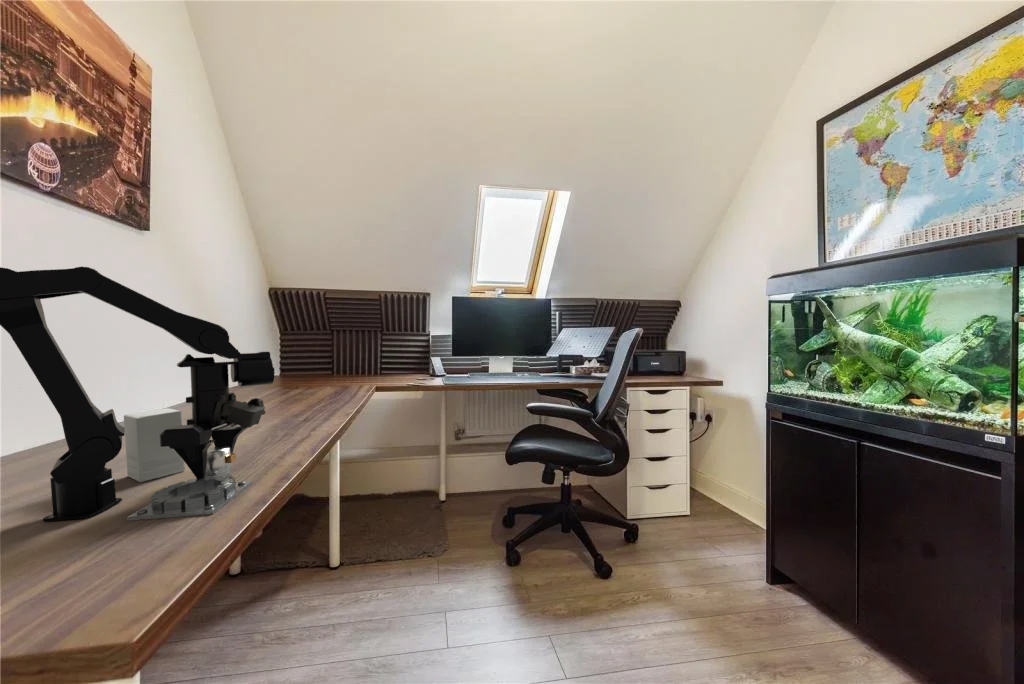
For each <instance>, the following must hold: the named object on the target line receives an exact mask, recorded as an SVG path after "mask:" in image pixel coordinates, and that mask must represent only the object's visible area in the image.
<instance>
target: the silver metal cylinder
mask: <svg viewBox="0 0 1024 684" xmlns="http://www.w3.org/2000/svg"><path fill="white" fill-rule="evenodd" d="M235 461H237V453H236V452H233V453H230V447H229V446H219V447H215V446H214V447H209V448H208V450H207V461H206V472H205V478H206V477H208V476H221V475H222V476H230V477H233V476H232V464H233V462H235Z"/></svg>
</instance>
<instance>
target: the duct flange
mask: <svg viewBox="0 0 1024 684" xmlns="http://www.w3.org/2000/svg"><path fill="white" fill-rule="evenodd" d="M252 485H253V480H251V481H250V480H247V481H245V480H241V481H236V478H235V477H234V476H232V477H230V476H222V475H221V476H208V477H206V478H205V477H204V478H199V479H197V478H196V477H195V478H192V479H187V481H185V480H182V481H180V482H177V483H174V484H171V485H168V486H167V487H164V488H162V489H161V488H160V490H158V491H156V492H154V493H153V494H152V495H151V500H150V503H149V504H147V505H145V506H144V507H142V508H141V509H139V510H137V511H135V512H134V513H131V514H130V515H128V516H127V518H126V519H127V521H140V520H152V519H155V520H156V519H166V518H168V519H169V518H181V517H182V518H183V517H193V516H204V515H205V516H207V515H214V514H215V513H217V512H218V511H219V510H220V509H222V508H223V507H225V506H226V505H227V504H228V503H230V502H231V501H232V500H233V499H235V498H237V496H239V495H240V494H241V493H243V492H244V491H245V490H247V489H248V488H249V487H251V486H252Z"/></svg>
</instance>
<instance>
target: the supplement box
mask: <svg viewBox="0 0 1024 684" xmlns="http://www.w3.org/2000/svg"><path fill="white" fill-rule="evenodd" d="M182 415H183V414H182V411H181V410H178V409H173V408H169V407H167V408H159V409H153V410H146V411H139V412H135V413H128V414H124V415H123V427H124V428H125V431H124V439H125V440H124V444H125V457H126V459H125V460H126V472H127V477H128V478H131V479H133V480H135V481H136V482H139V483H143V482H147V481H151V480H155V479H159V478H163V477H167V476H170V475H171V476H172V475H174V474H179V473H183V472H184V471H185V470H186V463H185V462H184V460H183V459H182V458H181V457H180V456H179V455H178V453H177V452H176V451H175V450H174V449H170V448H169V446H166V447H161V446H160V434H161V433H162V432H163V431H164V430H166V429H169V428H172V427H176V426H179V425H183V420H182V418H183V417H182Z"/></svg>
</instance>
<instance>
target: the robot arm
mask: <svg viewBox="0 0 1024 684" xmlns="http://www.w3.org/2000/svg"><path fill="white" fill-rule="evenodd" d="M80 294H85V295H88V296H89V297H90V296H91V297H92V298H94V299H97V300H99V301H101V302H103V303H106V304H108V305H110V306H112V307H114V308H116V309H119V310H121V311H123V312H125V313H128V314H129V315H132V316H133V317H136V318H139V319H140V320H143V321H145V322H147V323H149V324H151V325H154V326H156V327H158V328H160V329H162V330H164V331H165V332H166V333H169V334H170V335H171V336H173V337H174V338H175V339H177V340H178V341H180V342H182V343H183V344H185V345H187V347H189V348H191V349H192V350H193V351H195V352H197V353H201V354H204V355H205V354H206V355H217V356H219V357H221V358H224V359H229V360H232V359H233V361H218V362H217V361H215V358H214V357H213V356H207V357H206V356H203V357H194V355H191V354H190V353H187V354H185V356H184V358H183V359H182V360H181V361H180V362H177V363H176V366H177V367H178V368H190V385H191V386H190V387H191V388H190V389H191V391H190V392H191V393H190V395H191V396H187V397H185V404H191V415H192V416H191V417H192V418H191V417H190V418H189V419H186V424H182V425H179V426H176V427H172V428H169V429H166V430H164V431H163V432H162V433H161V434H160V446H161V447H166V446H169V448H170V449H174V450H175V451H176V452H177V453H178V455H179V456H180V457H181V458H182V459H183V460H184V462H185V465H186V466H187V467H188V469H189V470H190V471H191V473H192V474H193V475H194V477H195V479H196V478H197V479H199V478H204V477H205V472H206V461H207V450H208V448H211V446H212V445H214V447H219V446H229V447H230V453H234V449H235V445H236V442H237V440H238V437H239V436H240V435H241V434H242V433H243V432H244V431H245V430H247V429H248V428H252V427H253V426H255V425H259V423H260V420H261V417H262V416H265V414H266V410H265V409H266V407H265V405H264V400H263V399H260V398H257V397H254V398H251V399H250V400H249V401H248V402H247V401H240V400H237V395H236V394H235V392H230V384H229V381H230V379H231V382H232V383H237V386H238V387H239V388H243V387H253V386H262V385H264V386H265V385H272V384H273V383H274V380H275V367H274V365H273V360H272V358H271V352H270V351H258V352H248V353H247V352H246V353H241V352H240V351H239V349H237V348H236V347H235V346H234V345H233V343H231V342H230V335H229V333H228V330H227V329H226V328H225V327H223V326H221V325H219V324H217V323H214V322H210V321H208V320H204V319H202V318H198V317H195V316H191V315H188V314H185V313H182V312H179V311H176V310H174V309H172V308H170V307H168V306H166V305H164V304H162V303H161V302H158V301H157V300H154V299H152V298H150V297H147V296H146V295H144V294H142V293H140V292H138V291H136V290H134V289H132V288H130V287H127V286H125V285H123V284H122V283H120V282H117V281H115V280H113V279H111V278H109V277H107V276H105V275H103V274H101V272H99V271H98V270H97V269H95V268H92V267H88V266H78V267H74V268H62V269H61V268H60V269H59V268H57V269H38V270H36V269H35V270H23V271H16V270H13V269H10V268H8V267H0V327H2V328H3V330H4V331H5V332H6V333H8V334H9V336H10V337H11V339H12V341H13V342H14V343H15V345H16V347H17V348H18V350H19V352H20V353H21V355H22V357H23V359H24V360H25V361H26V363H27V365H28V367H29V368H30V369H31V372H32V373H33V375H34V376H35V377H36V379H37V381H38V383H39V384H40V386H41V388H42V389H43V391H44V393H45V394H46V396H47V397H48V399H49V401H50V402H51V404H52V405H53V407H54V408H55V410H56V412H57V414H58V415H59V417H60V420H61V424H62V429H63V434H64V438H65V441H66V445H67V448H68V450H67V451H66V452H65V453H63V454H62V455H61V456H60V457H58V459H57V460H56V461H55V464H54V466H53V467H52V469H51V471H50V476H51V478H50V492H51V494H50V495H51V502H52V503H51V505H52V506H51V508H52V513H51V514H48V515H45V516H44V517H42V522H52V521H64V520H65V521H66V520H75V519H76V520H77V519H87V518H91V517H93V516H95V515H97V514H98V513H101V512H102V511H104V510H107V509H108V508H111V507H112V506H115V505H116V504H119V503H120V502H122V500H123V499H122V497H117V495H116V480H115V478H114V477H113V471H112V469H113V468H107V467H106V465H107V463H109V462H111V461H112V460H114V459H116V457H117V456H118V455H119V454H120V452H121V450H122V446H123V437H125V428H124V425H123V426H122V425H121V424H120V423H119V422H118V420H117V418H116V414H115V411H114V409H113V408H110V409H109V410H107V411H104V412H102V411H101V410H100V409H99V408H98V407H97V406H96V405H95V404H94V403H93V402H92V400H91V397H90V396H89V395H88V394H87V391H86V390H85V388H84V387H83V384H81V382H80V380H79V378H78V376H77V374H76V372H74V369H73V368H72V367H71V365H70V363H69V361H68V359H67V358H66V356H65V354H64V353H63V351H62V349H61V348H60V346H59V344H58V342H57V340H56V339H55V337H54V336H53V334H52V332H51V331H50V329H49V326H48V324H47V321H46V316H45V312H44V307H43V304H42V301H41V300H44V299H52V298H58V297H65V296H70V295H72V296H73V295H80ZM229 366H230V379H229ZM211 438H212V439H211Z"/></svg>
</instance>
